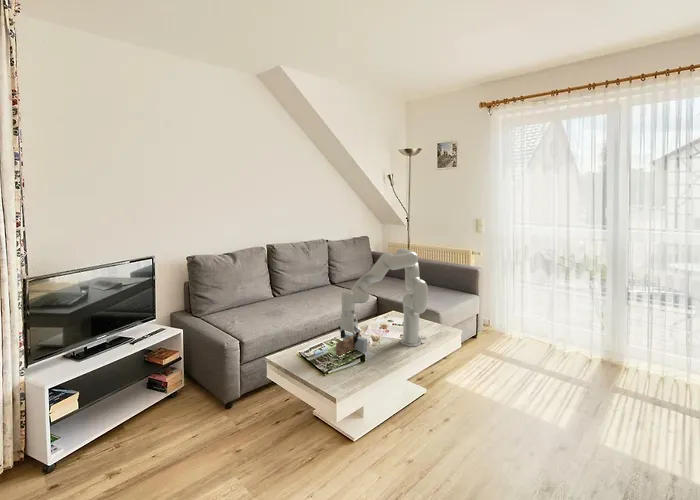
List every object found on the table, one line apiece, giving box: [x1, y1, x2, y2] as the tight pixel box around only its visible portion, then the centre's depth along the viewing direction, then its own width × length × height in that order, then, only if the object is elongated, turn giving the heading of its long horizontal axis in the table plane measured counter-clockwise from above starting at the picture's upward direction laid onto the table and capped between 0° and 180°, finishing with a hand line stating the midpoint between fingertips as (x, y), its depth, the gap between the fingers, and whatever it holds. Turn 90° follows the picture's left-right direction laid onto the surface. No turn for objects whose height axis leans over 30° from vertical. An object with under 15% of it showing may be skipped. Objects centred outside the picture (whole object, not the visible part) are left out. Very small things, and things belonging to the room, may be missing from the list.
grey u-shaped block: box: [342, 331, 368, 354], centre depth 232 cm, size 16×3×8 cm, turn 50°
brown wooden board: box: [335, 333, 362, 356], centre depth 228 cm, size 19×3×8 cm, turn 139°
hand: (349, 339), depth 227 cm, fingers open, 9 cm apart
